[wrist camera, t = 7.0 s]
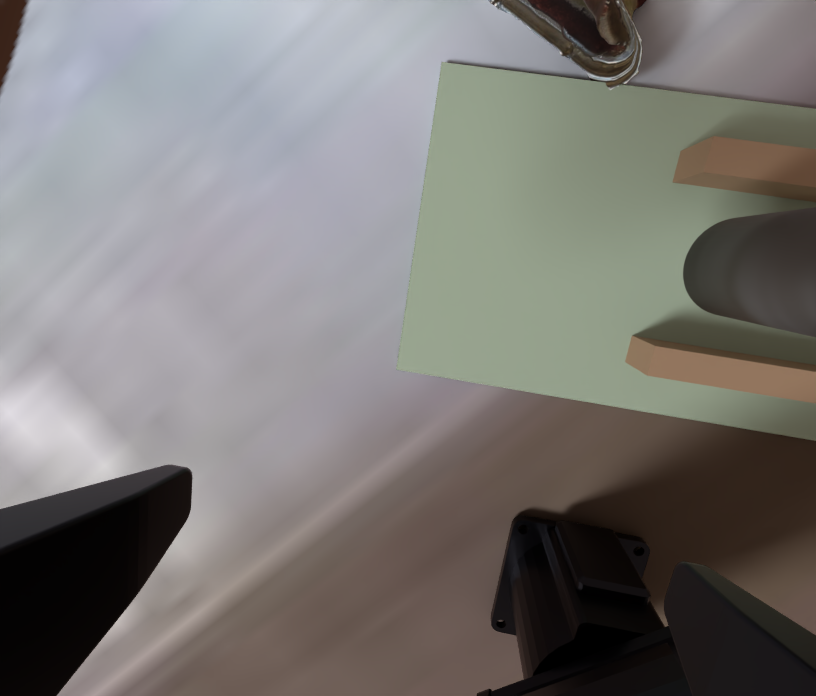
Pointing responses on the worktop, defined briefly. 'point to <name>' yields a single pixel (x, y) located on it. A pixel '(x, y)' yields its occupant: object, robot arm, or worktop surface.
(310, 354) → the worktop surface
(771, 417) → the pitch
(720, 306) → the sled
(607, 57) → the chocolate cake
